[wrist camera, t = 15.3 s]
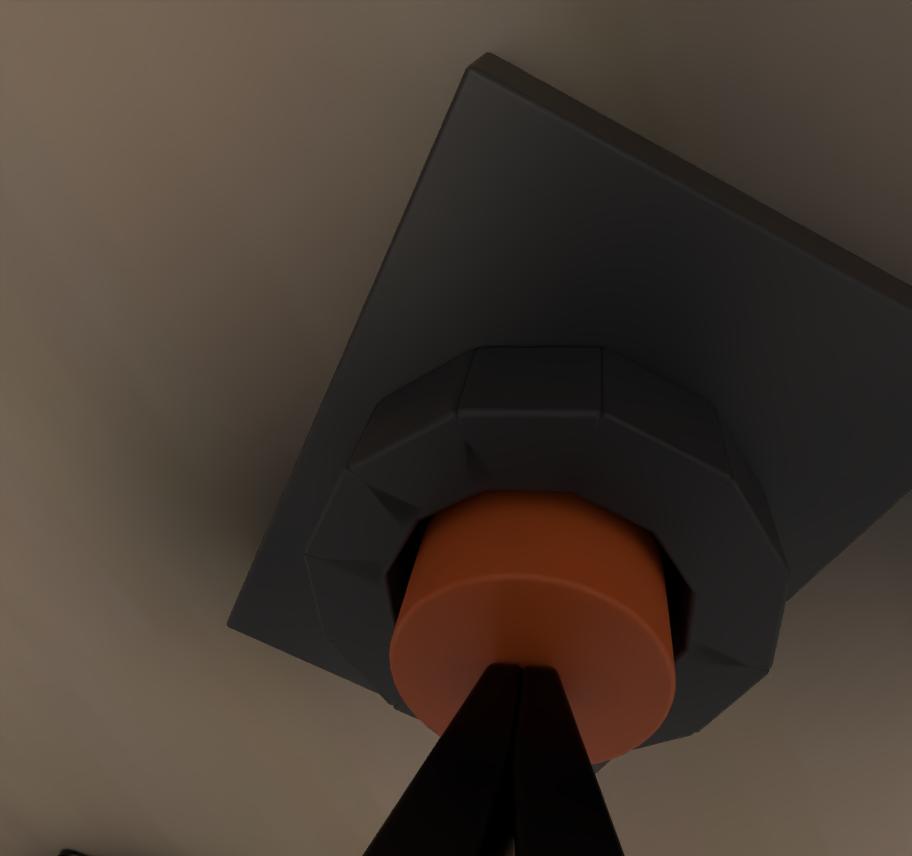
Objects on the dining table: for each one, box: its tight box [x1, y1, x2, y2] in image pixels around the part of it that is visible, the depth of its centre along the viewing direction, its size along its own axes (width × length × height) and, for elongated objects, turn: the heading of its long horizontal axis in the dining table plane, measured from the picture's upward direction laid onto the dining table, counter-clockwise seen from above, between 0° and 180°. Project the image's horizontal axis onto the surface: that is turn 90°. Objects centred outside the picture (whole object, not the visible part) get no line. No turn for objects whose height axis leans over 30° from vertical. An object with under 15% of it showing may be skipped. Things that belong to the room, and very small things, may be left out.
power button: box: [389, 490, 676, 765], centre depth 10 cm, size 4×4×2 cm
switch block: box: [227, 52, 912, 773], centre depth 12 cm, size 11×8×4 cm
